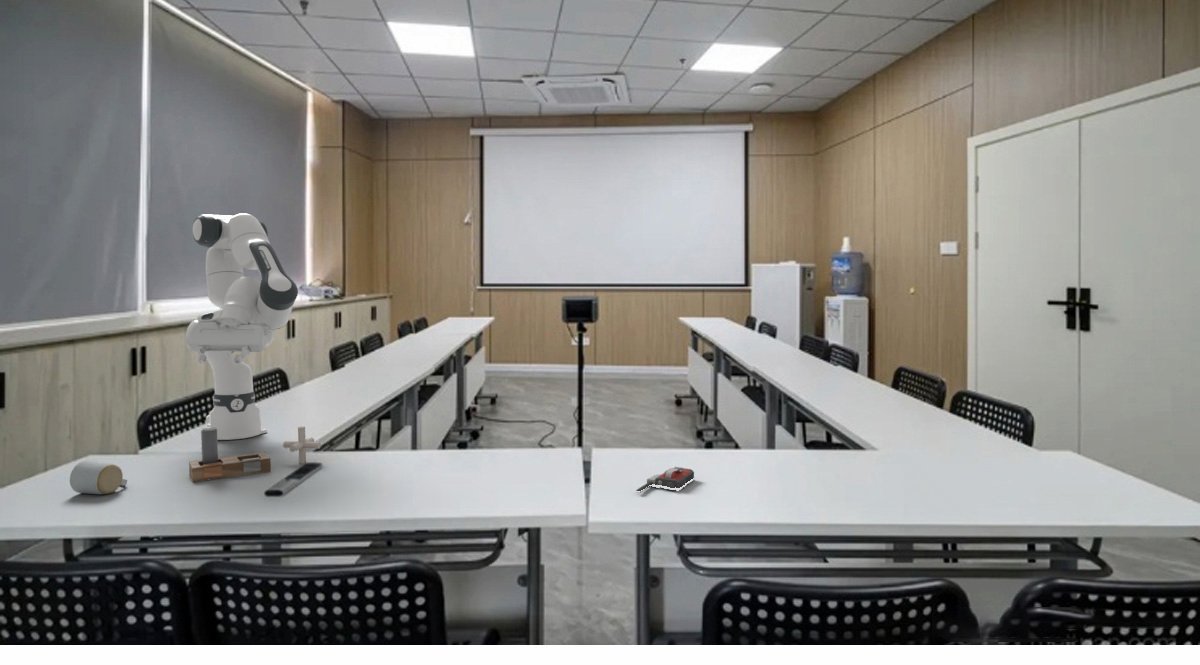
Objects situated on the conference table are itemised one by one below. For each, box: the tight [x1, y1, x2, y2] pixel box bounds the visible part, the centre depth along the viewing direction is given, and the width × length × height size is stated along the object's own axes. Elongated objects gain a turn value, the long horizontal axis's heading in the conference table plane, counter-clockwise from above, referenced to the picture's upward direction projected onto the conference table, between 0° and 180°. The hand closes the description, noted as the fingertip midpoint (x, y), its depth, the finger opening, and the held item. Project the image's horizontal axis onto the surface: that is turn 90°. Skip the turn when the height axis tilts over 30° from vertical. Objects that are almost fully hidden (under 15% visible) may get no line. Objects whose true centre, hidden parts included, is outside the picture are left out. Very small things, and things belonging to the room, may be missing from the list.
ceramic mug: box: [69, 459, 128, 495], centre depth 168 cm, size 11×8×8 cm
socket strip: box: [188, 451, 272, 482], centre depth 184 cm, size 8×18×4 cm, turn 125°
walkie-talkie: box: [636, 466, 695, 491], centre depth 173 cm, size 9×4×20 cm
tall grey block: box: [200, 426, 219, 466], centre depth 181 cm, size 4×4×13 cm
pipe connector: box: [282, 426, 322, 464], centre depth 195 cm, size 10×10×10 cm
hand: (219, 361), depth 191 cm, fingers open, 8 cm apart
